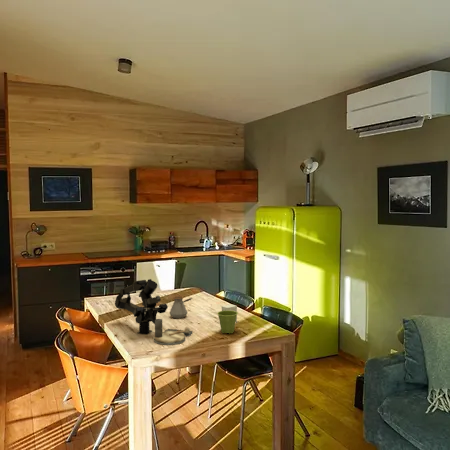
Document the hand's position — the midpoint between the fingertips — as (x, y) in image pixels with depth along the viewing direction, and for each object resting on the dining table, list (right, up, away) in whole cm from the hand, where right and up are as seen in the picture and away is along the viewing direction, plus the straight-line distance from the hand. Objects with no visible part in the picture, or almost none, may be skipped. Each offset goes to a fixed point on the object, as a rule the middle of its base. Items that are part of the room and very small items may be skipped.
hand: (155, 323), depth 254 cm
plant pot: (+40, -8, +13) cm, 42 cm away
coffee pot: (+11, -6, +43) cm, 45 cm away
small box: (+41, -7, +34) cm, 53 cm away
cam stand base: (+9, -9, +1) cm, 13 cm away
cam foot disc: (+10, -8, 0) cm, 13 cm away
